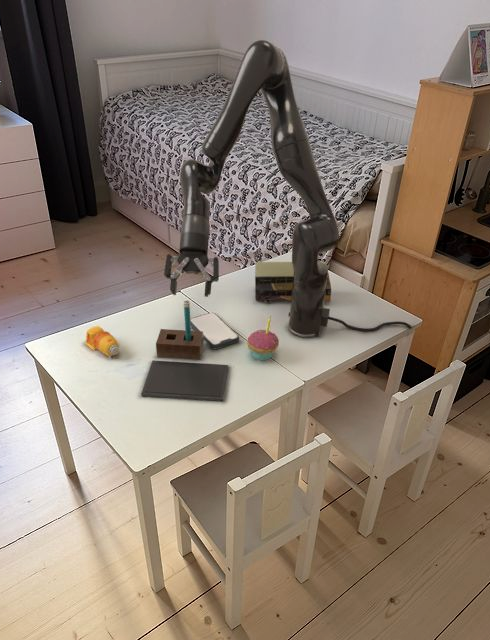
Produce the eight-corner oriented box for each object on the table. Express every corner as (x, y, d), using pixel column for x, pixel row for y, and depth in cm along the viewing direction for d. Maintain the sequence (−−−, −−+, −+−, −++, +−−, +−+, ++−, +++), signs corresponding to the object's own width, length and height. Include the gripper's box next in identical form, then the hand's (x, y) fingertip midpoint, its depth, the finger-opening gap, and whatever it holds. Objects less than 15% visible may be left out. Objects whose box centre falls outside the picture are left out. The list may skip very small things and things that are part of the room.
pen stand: (203, 344, 150) (203, 331, 147) (200, 359, 144) (199, 346, 141) (162, 342, 150) (160, 328, 147) (157, 357, 145) (155, 343, 142)
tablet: (228, 367, 142) (227, 364, 142) (222, 401, 132) (222, 398, 131) (152, 362, 143) (152, 359, 142) (141, 396, 132) (141, 393, 132)
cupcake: (264, 342, 151) (266, 306, 144) (284, 357, 146) (287, 320, 139) (240, 353, 147) (241, 316, 139) (260, 369, 142) (261, 331, 134)
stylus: (192, 349, 148) (189, 300, 138) (191, 353, 146) (189, 303, 136) (187, 349, 148) (184, 300, 138) (186, 352, 147) (183, 303, 137)
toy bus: (330, 305, 167) (332, 276, 161) (255, 305, 168) (255, 276, 161) (327, 288, 175) (329, 260, 169) (255, 289, 175) (255, 261, 169)
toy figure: (125, 355, 145) (101, 336, 151) (123, 338, 141) (98, 319, 148) (108, 363, 142) (84, 343, 148) (105, 347, 138) (80, 326, 145)
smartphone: (187, 323, 158) (212, 351, 147) (186, 319, 157) (212, 346, 146) (214, 315, 162) (240, 342, 151) (213, 311, 161) (240, 337, 150)
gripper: (222, 242, 148) (218, 300, 146) (170, 239, 148) (165, 297, 146) (220, 232, 140) (215, 293, 139) (165, 229, 140) (160, 289, 139)
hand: (190, 295), depth 143 cm, fingers open, 8 cm apart
